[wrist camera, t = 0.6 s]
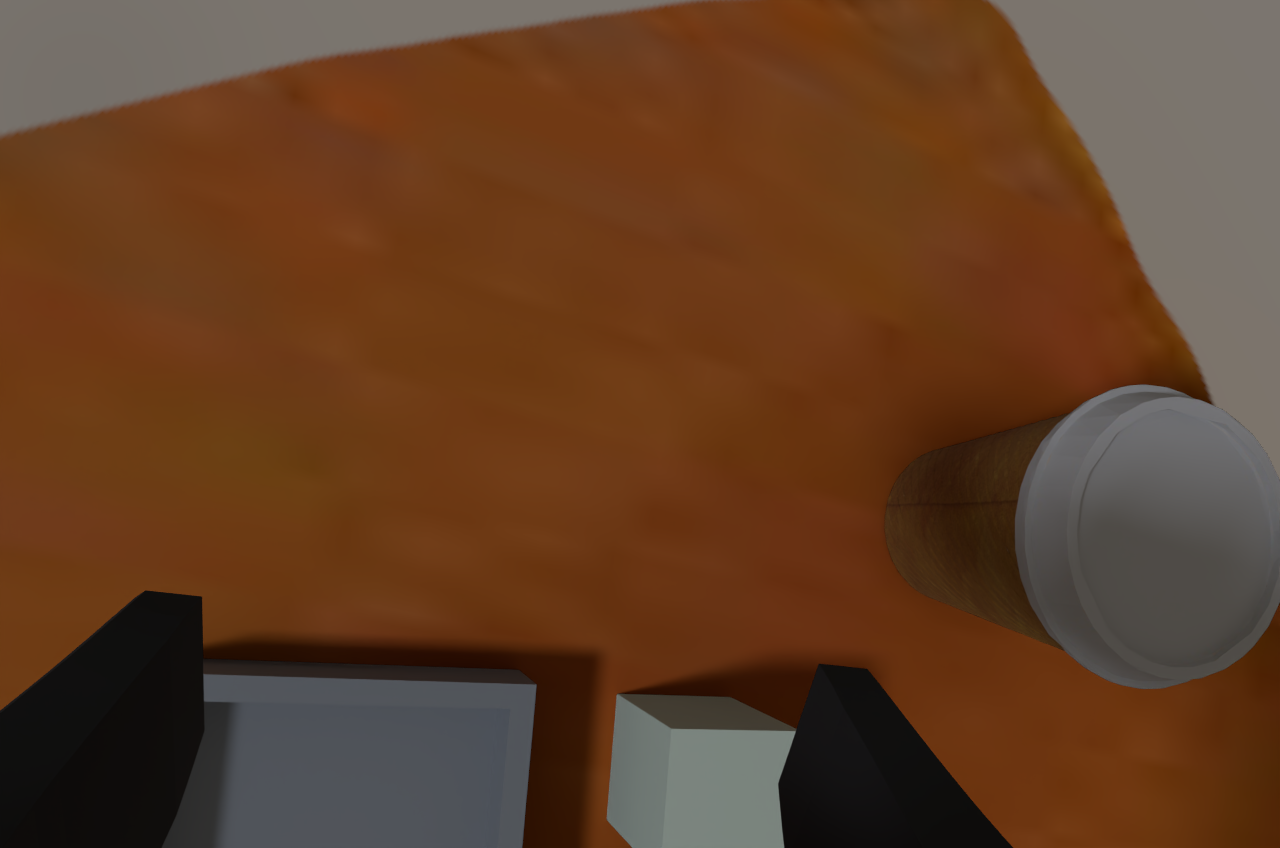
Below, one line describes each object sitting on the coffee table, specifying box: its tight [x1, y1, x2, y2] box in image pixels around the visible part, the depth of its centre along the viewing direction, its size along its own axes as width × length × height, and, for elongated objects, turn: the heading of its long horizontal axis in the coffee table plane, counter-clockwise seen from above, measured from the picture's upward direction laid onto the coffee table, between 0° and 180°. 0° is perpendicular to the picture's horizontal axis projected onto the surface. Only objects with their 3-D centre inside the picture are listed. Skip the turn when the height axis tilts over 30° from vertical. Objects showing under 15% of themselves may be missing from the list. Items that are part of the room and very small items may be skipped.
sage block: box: [607, 694, 796, 848], centre depth 36 cm, size 4×4×6 cm
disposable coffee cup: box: [885, 385, 1280, 689], centre depth 37 cm, size 10×10×12 cm
